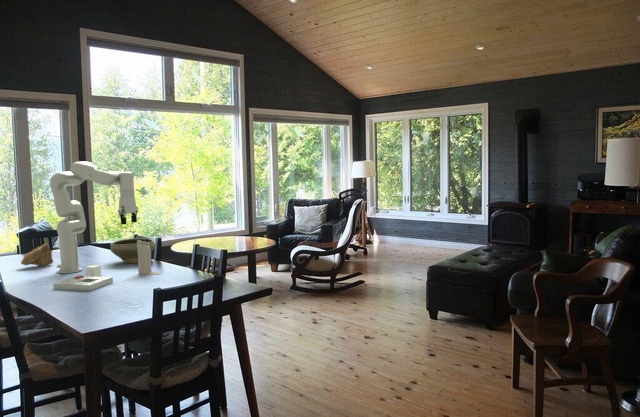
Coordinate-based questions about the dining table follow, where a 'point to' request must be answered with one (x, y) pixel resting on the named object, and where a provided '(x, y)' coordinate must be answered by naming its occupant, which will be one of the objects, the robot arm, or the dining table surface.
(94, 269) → the plug
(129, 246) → the bowl
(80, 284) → the socket plate
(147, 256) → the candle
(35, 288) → the dining table surface
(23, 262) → the stone
